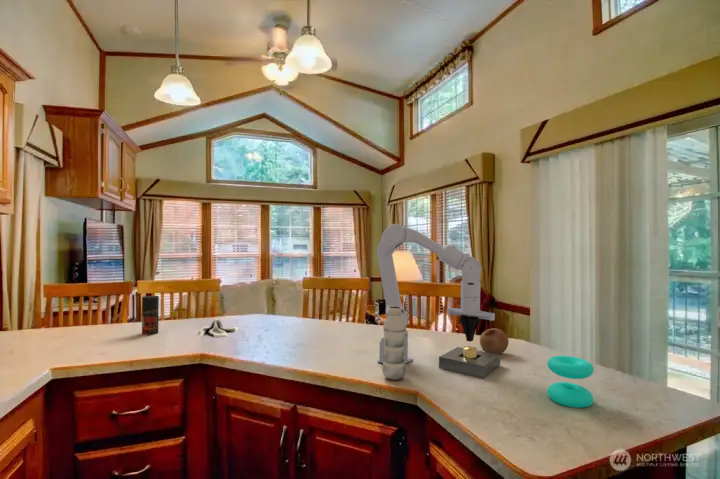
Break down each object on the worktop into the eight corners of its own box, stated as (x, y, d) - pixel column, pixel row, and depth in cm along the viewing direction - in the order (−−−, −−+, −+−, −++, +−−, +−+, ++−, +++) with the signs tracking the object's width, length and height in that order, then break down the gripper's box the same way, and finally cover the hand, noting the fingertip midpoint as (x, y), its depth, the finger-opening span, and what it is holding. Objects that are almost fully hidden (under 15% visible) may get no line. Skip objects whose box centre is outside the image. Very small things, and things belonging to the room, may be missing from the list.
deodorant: (138, 334, 158) (138, 297, 158) (150, 331, 163) (150, 295, 163) (150, 335, 156) (150, 298, 156) (161, 332, 162) (162, 296, 162)
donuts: (561, 366, 90) (539, 354, 100) (560, 410, 90) (539, 393, 100) (603, 366, 91) (577, 354, 101) (603, 409, 91) (577, 392, 101)
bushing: (473, 370, 117) (473, 350, 117) (460, 367, 120) (461, 348, 120) (478, 367, 121) (478, 347, 121) (466, 364, 123) (466, 345, 123)
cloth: (209, 327, 174) (209, 313, 174) (247, 329, 170) (247, 315, 170) (175, 339, 152) (175, 324, 152) (218, 342, 149) (218, 326, 149)
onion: (492, 365, 131) (486, 341, 128) (477, 350, 140) (472, 327, 137) (516, 354, 133) (512, 330, 129) (500, 340, 142) (495, 317, 138)
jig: (484, 378, 111) (484, 366, 111) (438, 368, 119) (439, 356, 119) (500, 366, 122) (500, 354, 122) (457, 357, 130) (457, 347, 130)
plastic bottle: (390, 372, 115) (391, 304, 115) (410, 378, 110) (410, 307, 110) (377, 378, 110) (378, 307, 110) (397, 384, 105) (398, 310, 105)
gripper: (498, 297, 119) (497, 342, 119) (453, 293, 128) (453, 334, 128) (490, 300, 114) (489, 346, 114) (444, 295, 122) (443, 338, 122)
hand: (469, 340), depth 120 cm, fingers closed
